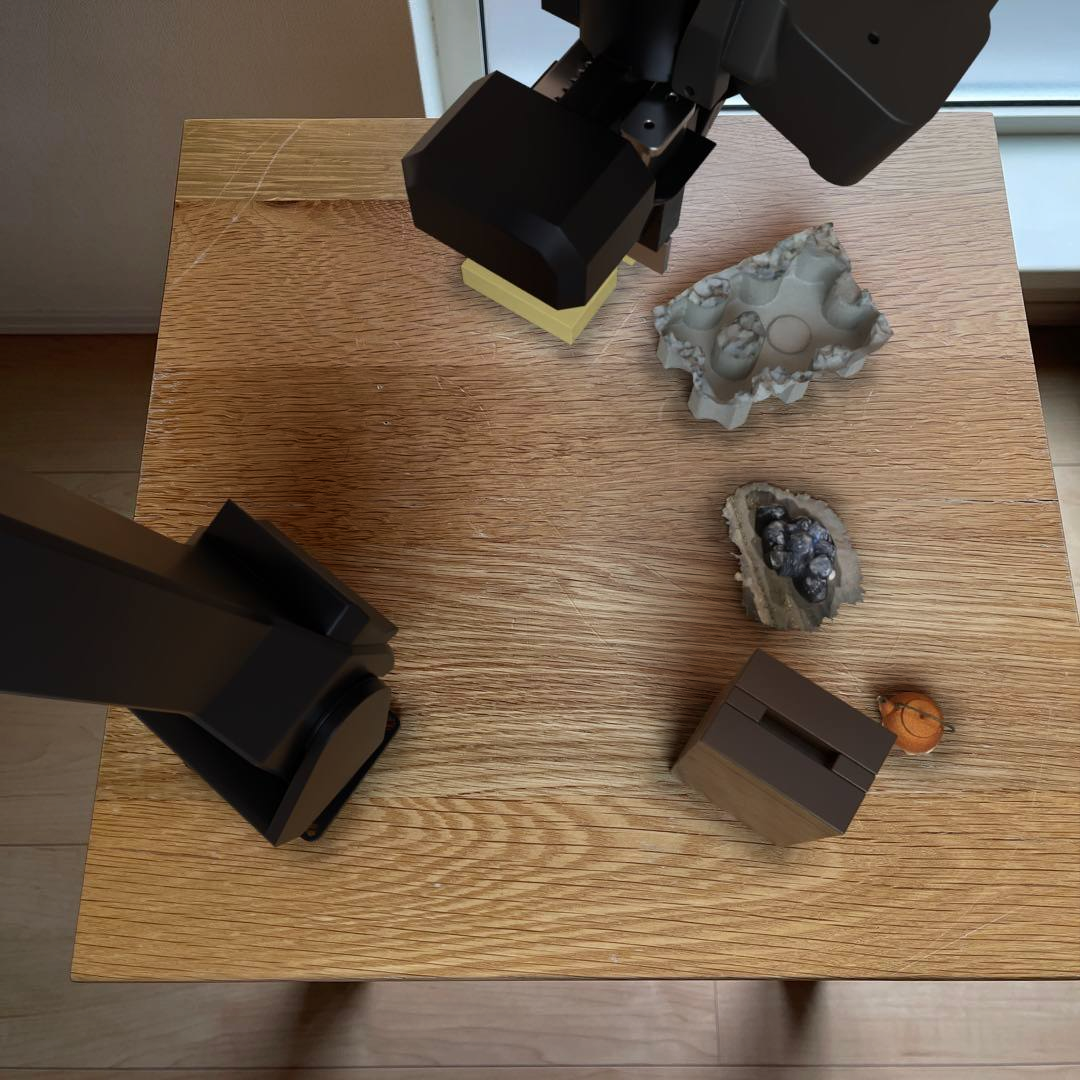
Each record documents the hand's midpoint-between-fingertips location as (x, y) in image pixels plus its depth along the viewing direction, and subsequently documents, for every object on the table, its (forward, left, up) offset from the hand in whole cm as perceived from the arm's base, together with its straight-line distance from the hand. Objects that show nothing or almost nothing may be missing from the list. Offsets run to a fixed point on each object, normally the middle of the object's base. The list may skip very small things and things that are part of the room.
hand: (643, 216), depth 36 cm
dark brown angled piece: (0, 0, -3) cm, 3 cm away
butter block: (+3, +7, -13) cm, 15 cm away
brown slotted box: (-13, -15, -13) cm, 24 cm away
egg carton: (+6, -5, -13) cm, 15 cm away
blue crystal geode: (-3, -11, -13) cm, 18 cm away
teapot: (-7, -20, -13) cm, 25 cm away
